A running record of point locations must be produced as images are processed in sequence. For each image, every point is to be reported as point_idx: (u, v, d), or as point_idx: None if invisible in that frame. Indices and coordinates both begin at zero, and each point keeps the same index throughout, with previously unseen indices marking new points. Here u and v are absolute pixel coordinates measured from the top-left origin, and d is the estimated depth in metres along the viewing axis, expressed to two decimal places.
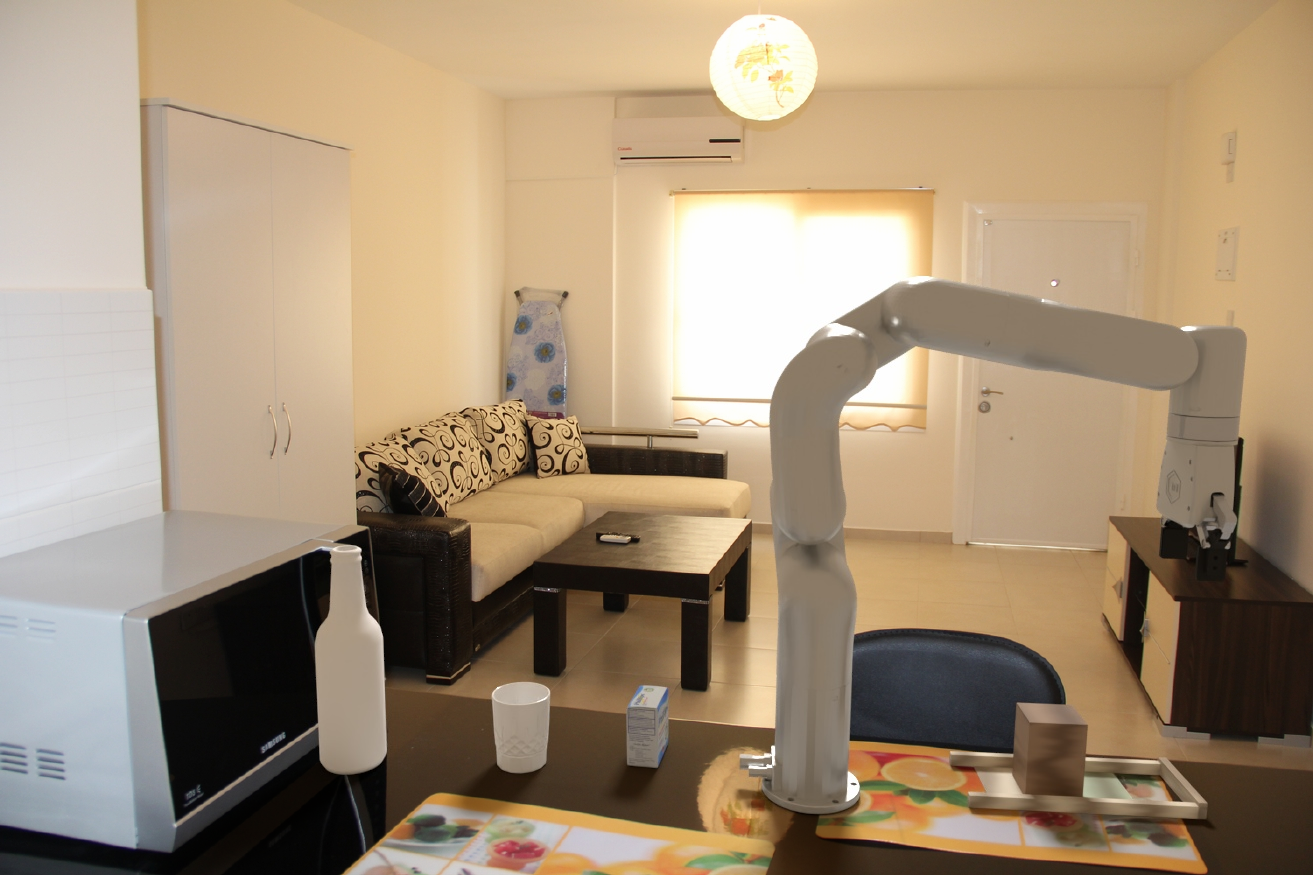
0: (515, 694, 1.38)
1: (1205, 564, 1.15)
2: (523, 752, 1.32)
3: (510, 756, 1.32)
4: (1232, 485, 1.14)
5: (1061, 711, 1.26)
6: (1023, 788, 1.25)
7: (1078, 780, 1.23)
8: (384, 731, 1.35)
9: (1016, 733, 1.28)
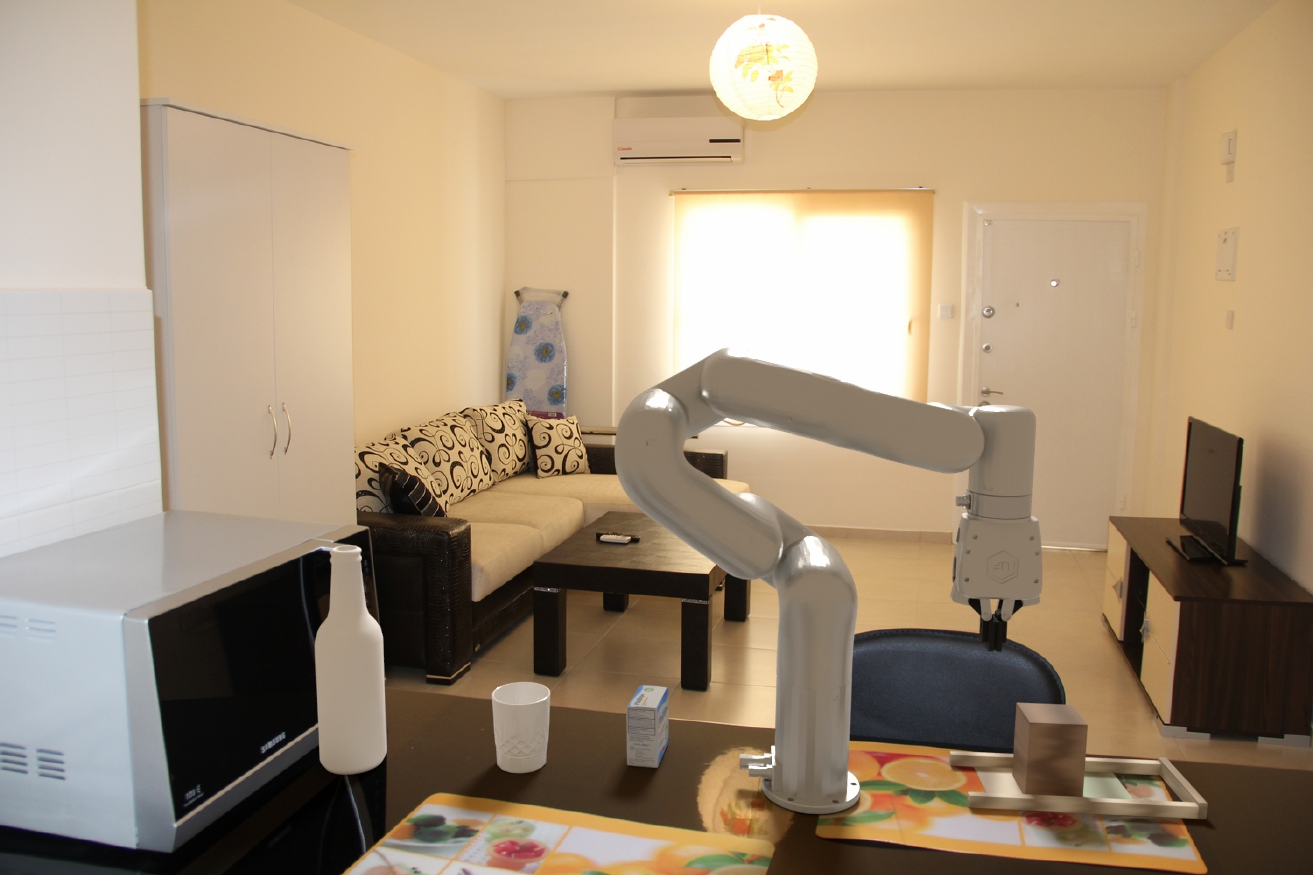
0: (515, 694, 1.38)
1: (1002, 634, 1.24)
2: (523, 752, 1.32)
3: (510, 756, 1.32)
4: None
5: (1061, 711, 1.26)
6: (1023, 788, 1.25)
7: (1078, 780, 1.23)
8: (384, 731, 1.35)
9: (1016, 733, 1.28)
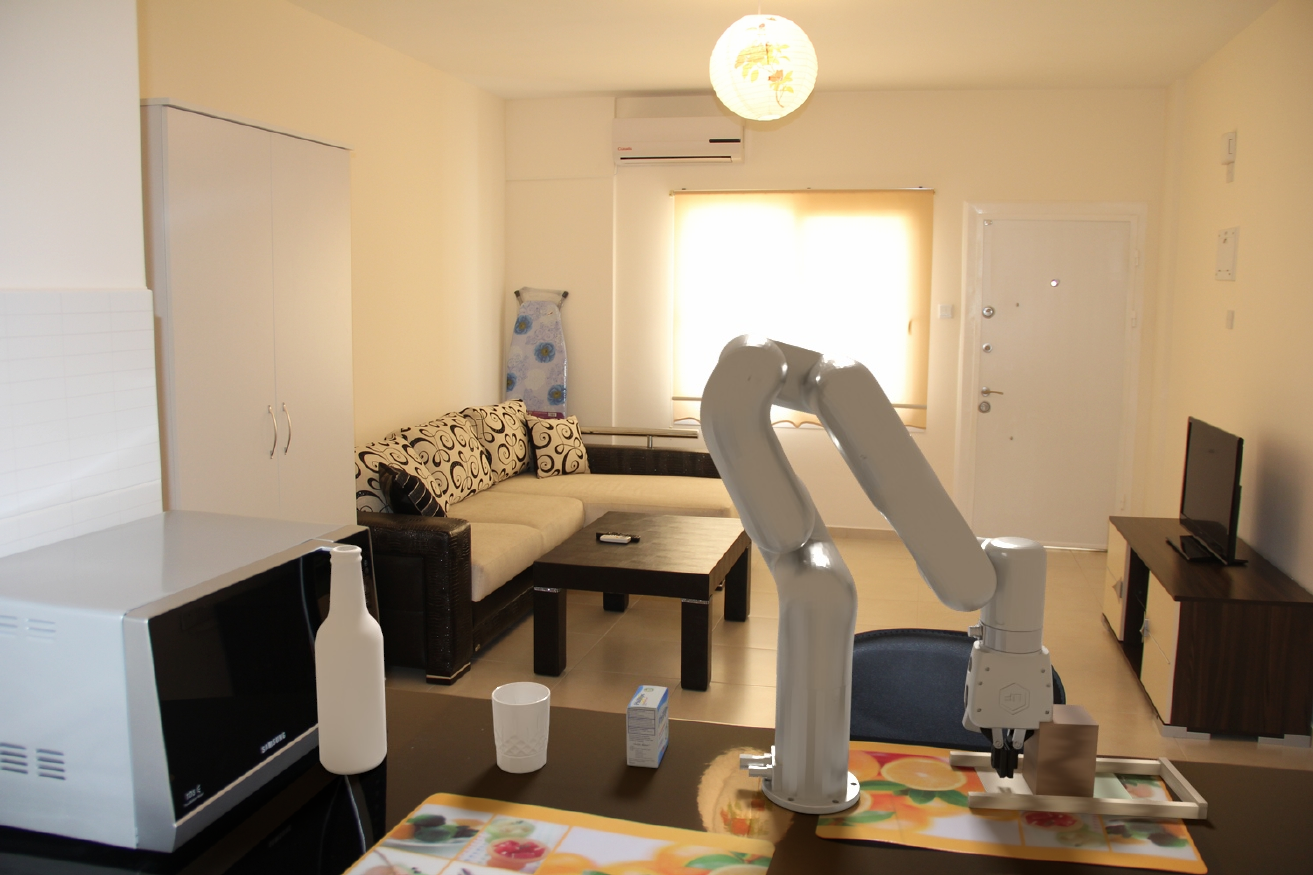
0: (515, 694, 1.38)
1: (1014, 761, 1.26)
2: (523, 752, 1.32)
3: (510, 756, 1.32)
4: None
5: (1072, 711, 1.26)
6: (1034, 789, 1.25)
7: (1089, 781, 1.23)
8: (384, 731, 1.35)
9: None
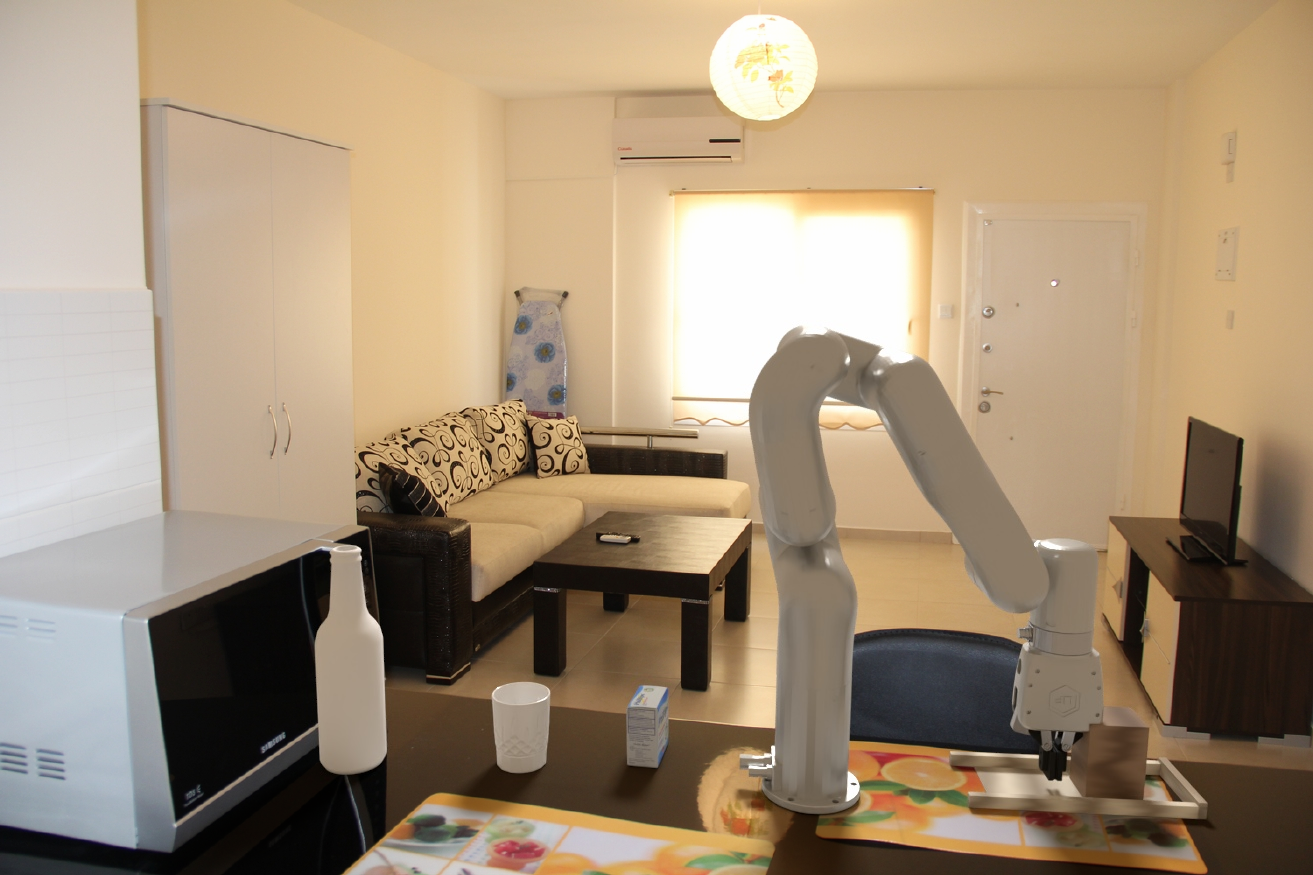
0: (515, 694, 1.38)
1: (1062, 763, 1.25)
2: (523, 752, 1.32)
3: (510, 756, 1.32)
4: None
5: (1121, 714, 1.25)
6: (1083, 791, 1.24)
7: (1139, 783, 1.23)
8: (384, 731, 1.35)
9: None
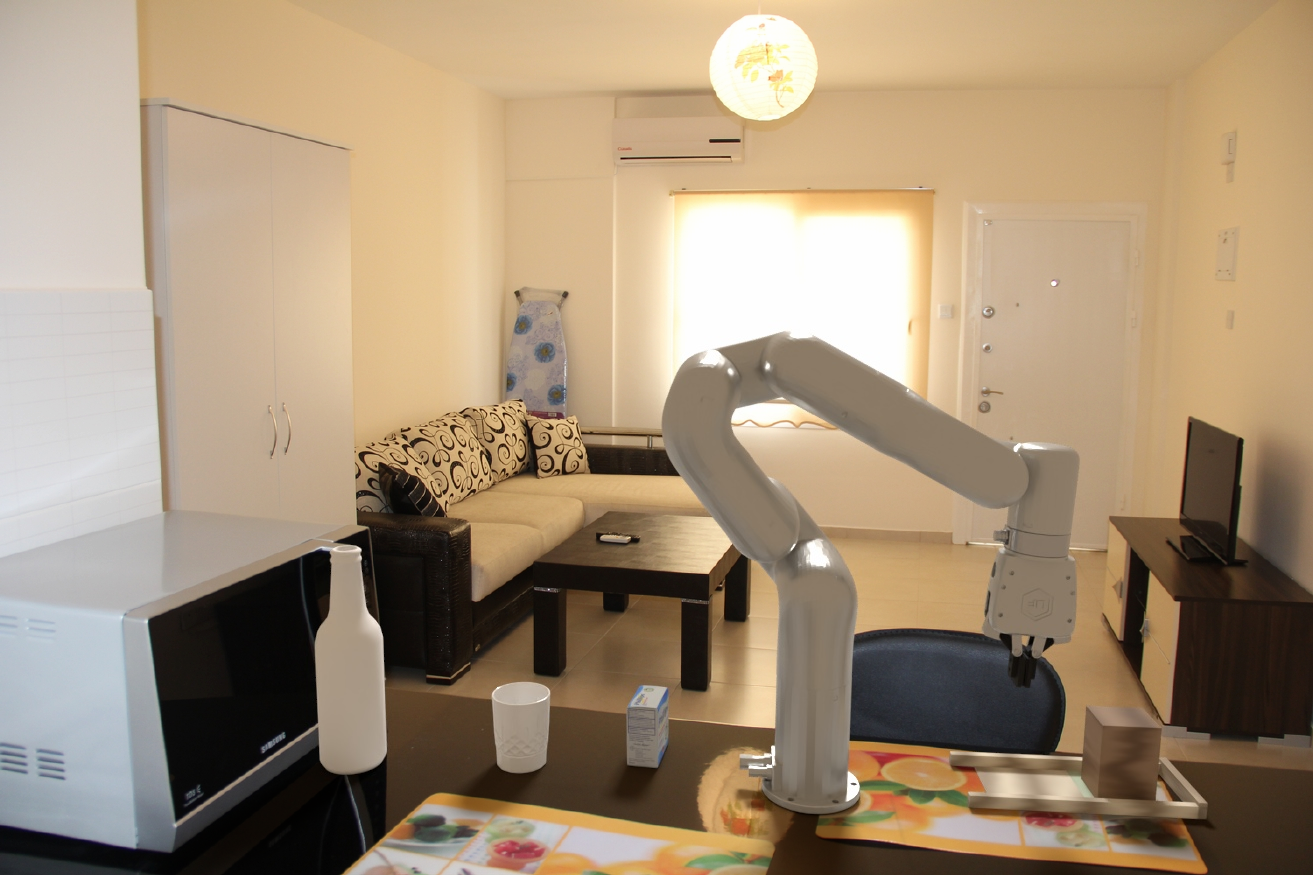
0: (515, 694, 1.38)
1: (1031, 671, 1.24)
2: (523, 752, 1.32)
3: (510, 756, 1.32)
4: None
5: (1133, 714, 1.25)
6: (1095, 792, 1.24)
7: (1151, 784, 1.22)
8: (384, 731, 1.35)
9: (1086, 736, 1.28)
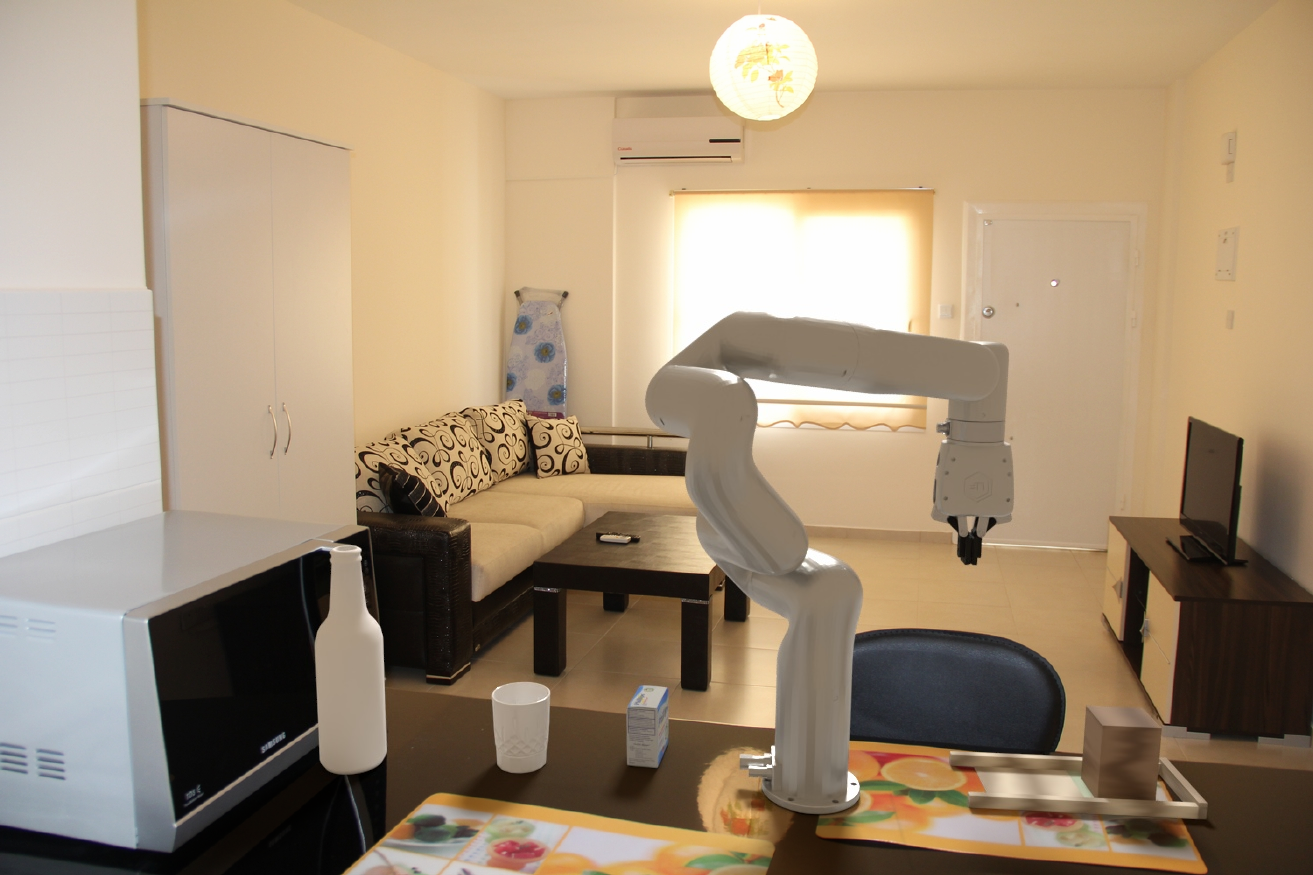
0: (515, 694, 1.38)
1: (978, 549, 1.36)
2: (523, 752, 1.32)
3: (510, 756, 1.32)
4: None
5: (1133, 714, 1.25)
6: (1095, 792, 1.24)
7: (1151, 784, 1.22)
8: (384, 731, 1.35)
9: (1086, 736, 1.28)
